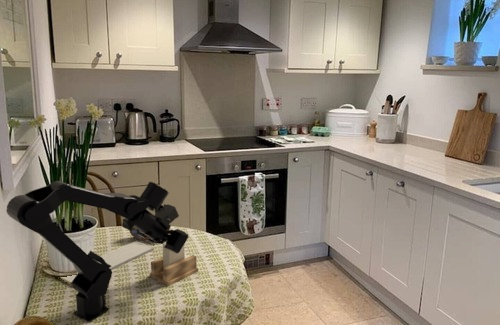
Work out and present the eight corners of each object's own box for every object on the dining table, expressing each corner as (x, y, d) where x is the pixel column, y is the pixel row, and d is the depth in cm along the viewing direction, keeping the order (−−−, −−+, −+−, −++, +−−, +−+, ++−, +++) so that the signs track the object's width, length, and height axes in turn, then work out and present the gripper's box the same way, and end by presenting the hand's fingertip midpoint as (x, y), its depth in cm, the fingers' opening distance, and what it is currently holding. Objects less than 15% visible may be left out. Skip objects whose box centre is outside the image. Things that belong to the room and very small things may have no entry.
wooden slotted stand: (168, 286, 119) (167, 270, 118) (150, 275, 125) (149, 261, 124) (197, 271, 128) (197, 257, 127) (179, 262, 134) (179, 248, 133)
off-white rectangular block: (170, 276, 123) (169, 246, 121) (163, 272, 125) (162, 243, 123) (184, 269, 128) (184, 240, 125) (178, 265, 130) (177, 237, 127)
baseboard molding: (52, 277, 124) (75, 289, 118) (51, 268, 124) (74, 280, 117) (131, 242, 149) (154, 251, 143) (131, 235, 149) (154, 243, 142)
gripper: (183, 206, 112) (211, 232, 123) (143, 192, 124) (171, 217, 134) (161, 241, 108) (191, 264, 119) (122, 223, 120) (153, 245, 130)
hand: (177, 246), depth 126 cm, fingers open, 3 cm apart
